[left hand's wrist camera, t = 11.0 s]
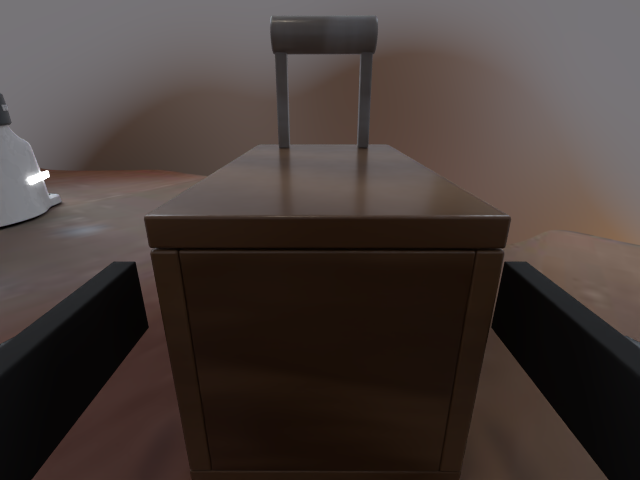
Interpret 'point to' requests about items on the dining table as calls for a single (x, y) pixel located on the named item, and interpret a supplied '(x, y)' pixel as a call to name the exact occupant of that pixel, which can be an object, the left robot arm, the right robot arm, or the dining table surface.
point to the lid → (325, 178)
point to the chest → (326, 358)
